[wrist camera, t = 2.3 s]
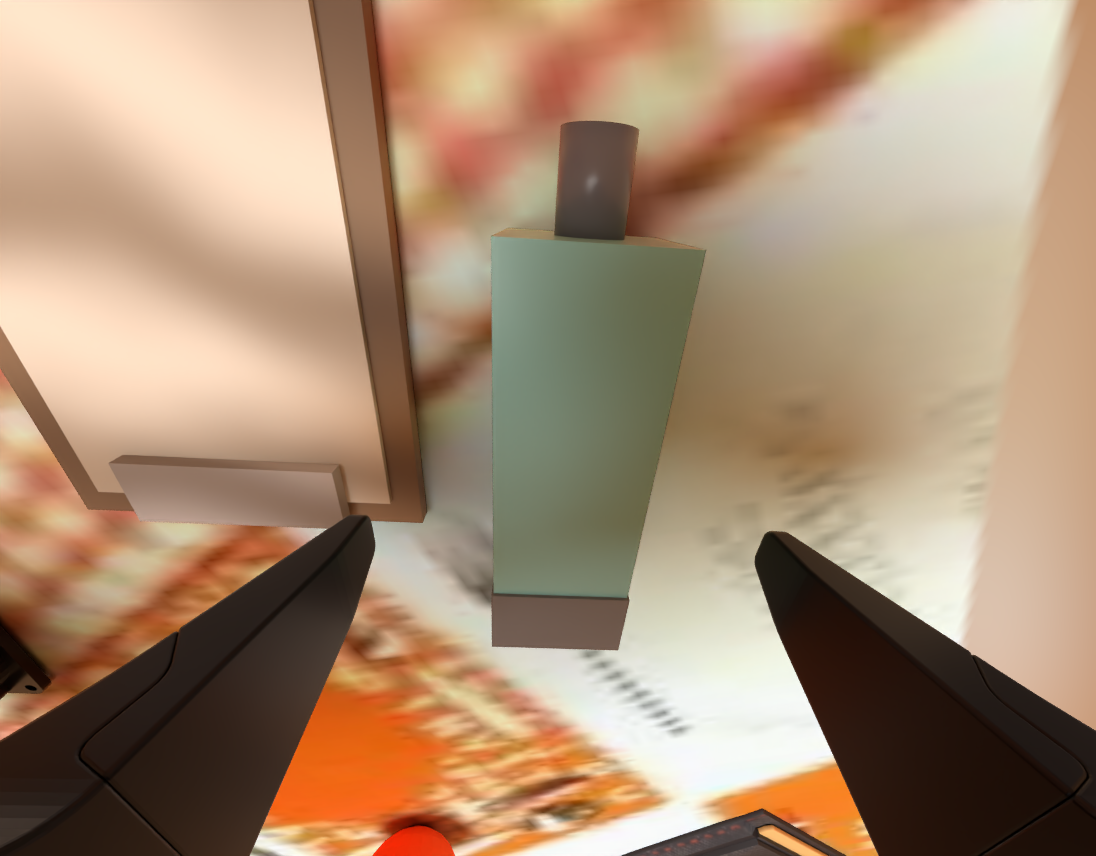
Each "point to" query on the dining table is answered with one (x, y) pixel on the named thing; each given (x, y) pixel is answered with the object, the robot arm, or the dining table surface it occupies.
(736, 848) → the black notebook
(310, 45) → the clipboard
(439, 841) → the clementine
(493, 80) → the dining table surface
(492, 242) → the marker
